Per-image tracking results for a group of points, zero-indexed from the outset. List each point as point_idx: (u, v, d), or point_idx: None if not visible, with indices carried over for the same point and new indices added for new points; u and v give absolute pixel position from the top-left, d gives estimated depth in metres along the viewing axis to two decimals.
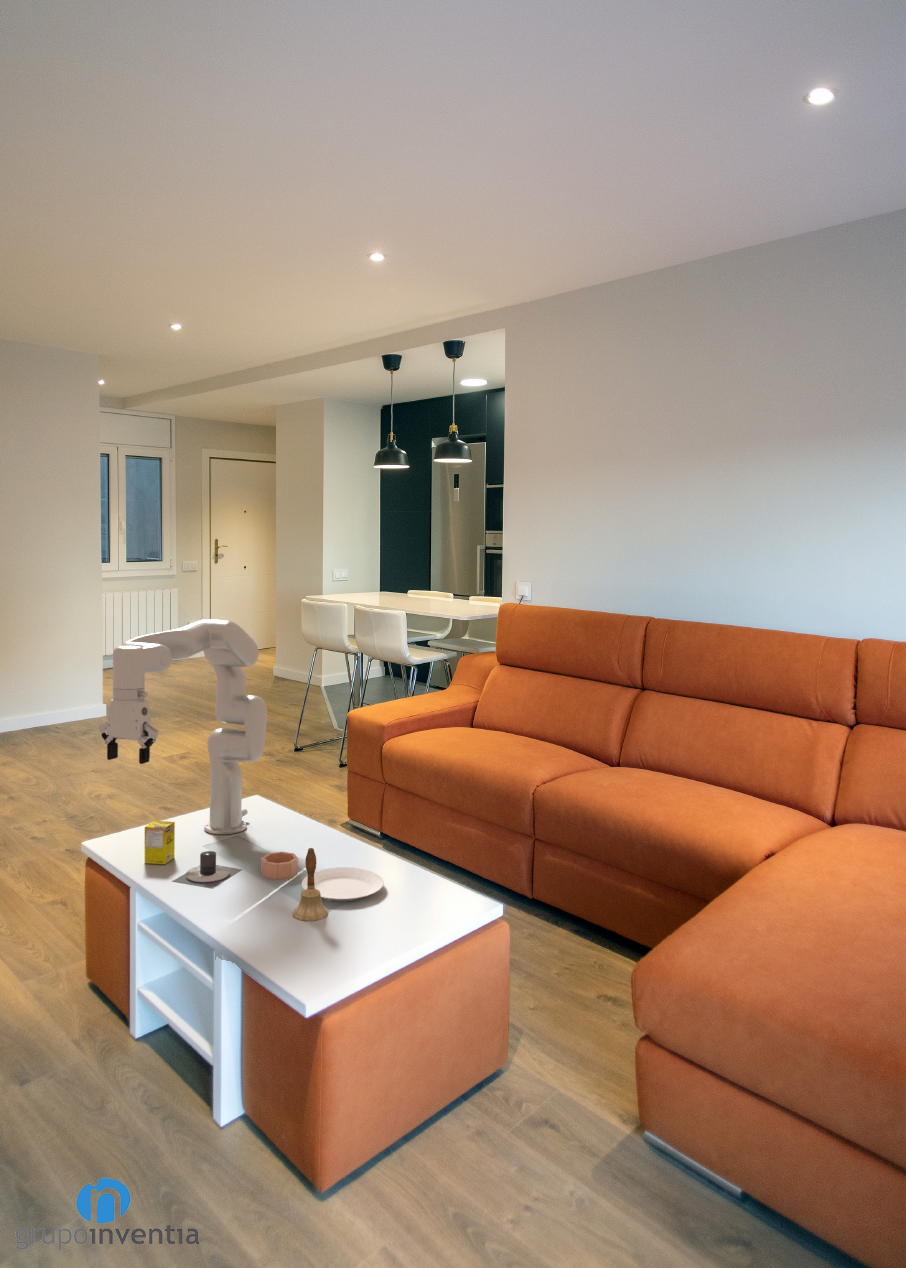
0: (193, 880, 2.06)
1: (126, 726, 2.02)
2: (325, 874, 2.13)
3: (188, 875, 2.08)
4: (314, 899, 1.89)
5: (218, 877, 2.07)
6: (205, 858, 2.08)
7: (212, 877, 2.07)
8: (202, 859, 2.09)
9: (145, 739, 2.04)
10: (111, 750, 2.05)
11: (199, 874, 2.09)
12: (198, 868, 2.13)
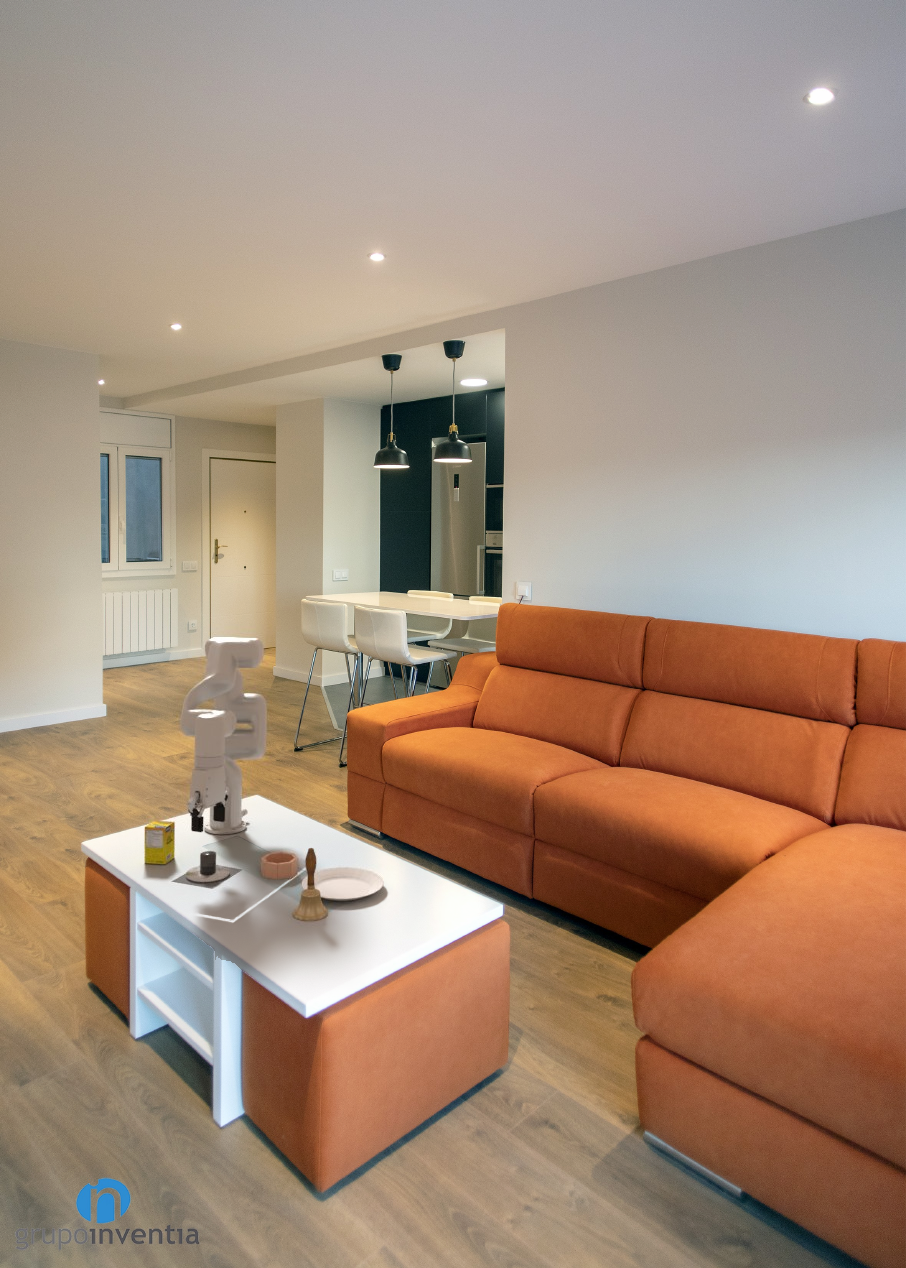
0: (193, 880, 2.06)
1: (219, 790, 2.09)
2: (325, 874, 2.13)
3: (188, 875, 2.08)
4: (314, 899, 1.89)
5: (218, 877, 2.07)
6: (204, 858, 2.08)
7: (212, 877, 2.07)
8: (202, 859, 2.09)
9: None
10: None
11: (199, 874, 2.09)
12: (198, 868, 2.13)
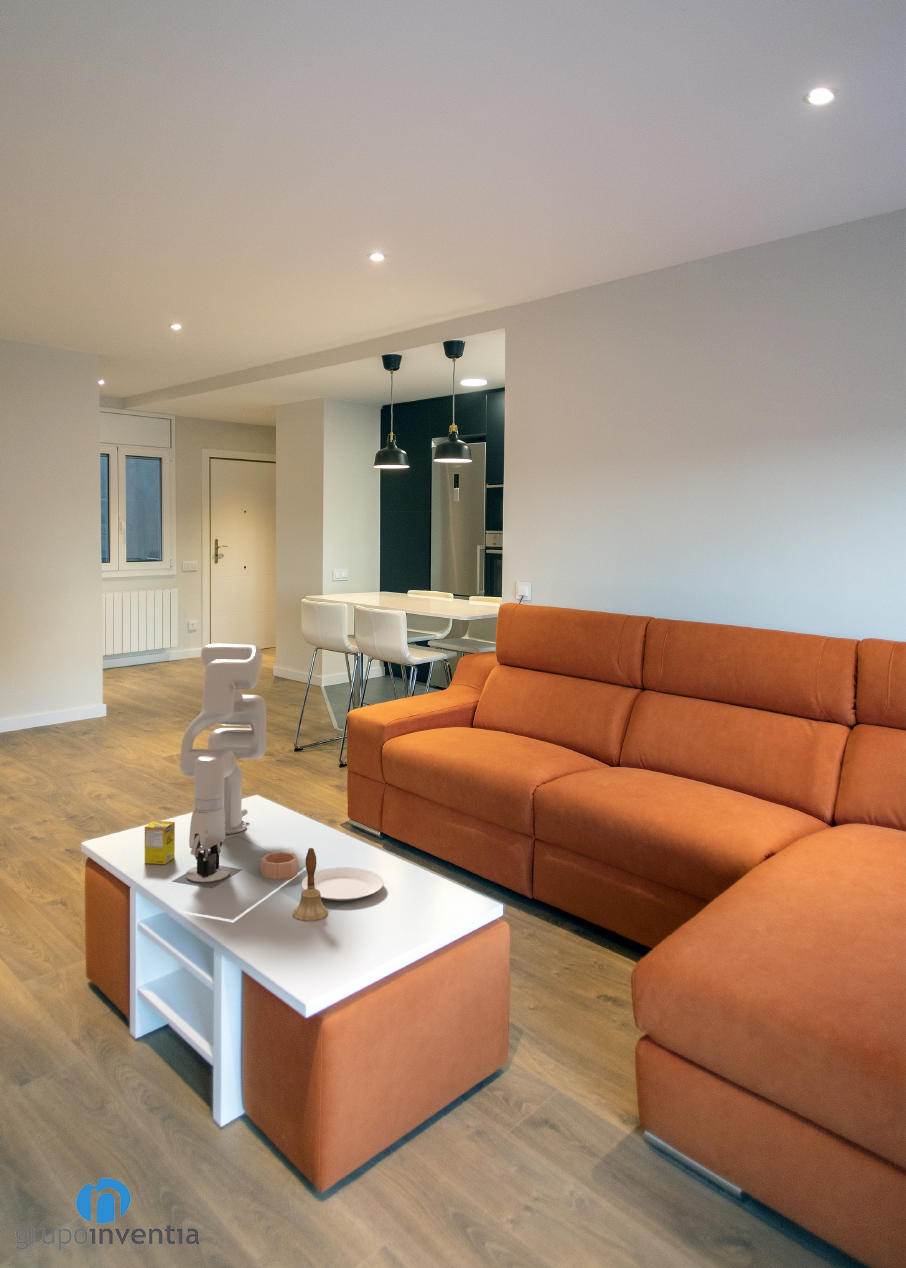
0: (193, 880, 2.06)
1: (219, 831, 2.10)
2: (325, 874, 2.13)
3: (188, 875, 2.08)
4: (314, 899, 1.89)
5: (218, 877, 2.07)
6: None
7: (212, 877, 2.07)
8: None
9: None
10: None
11: None
12: None
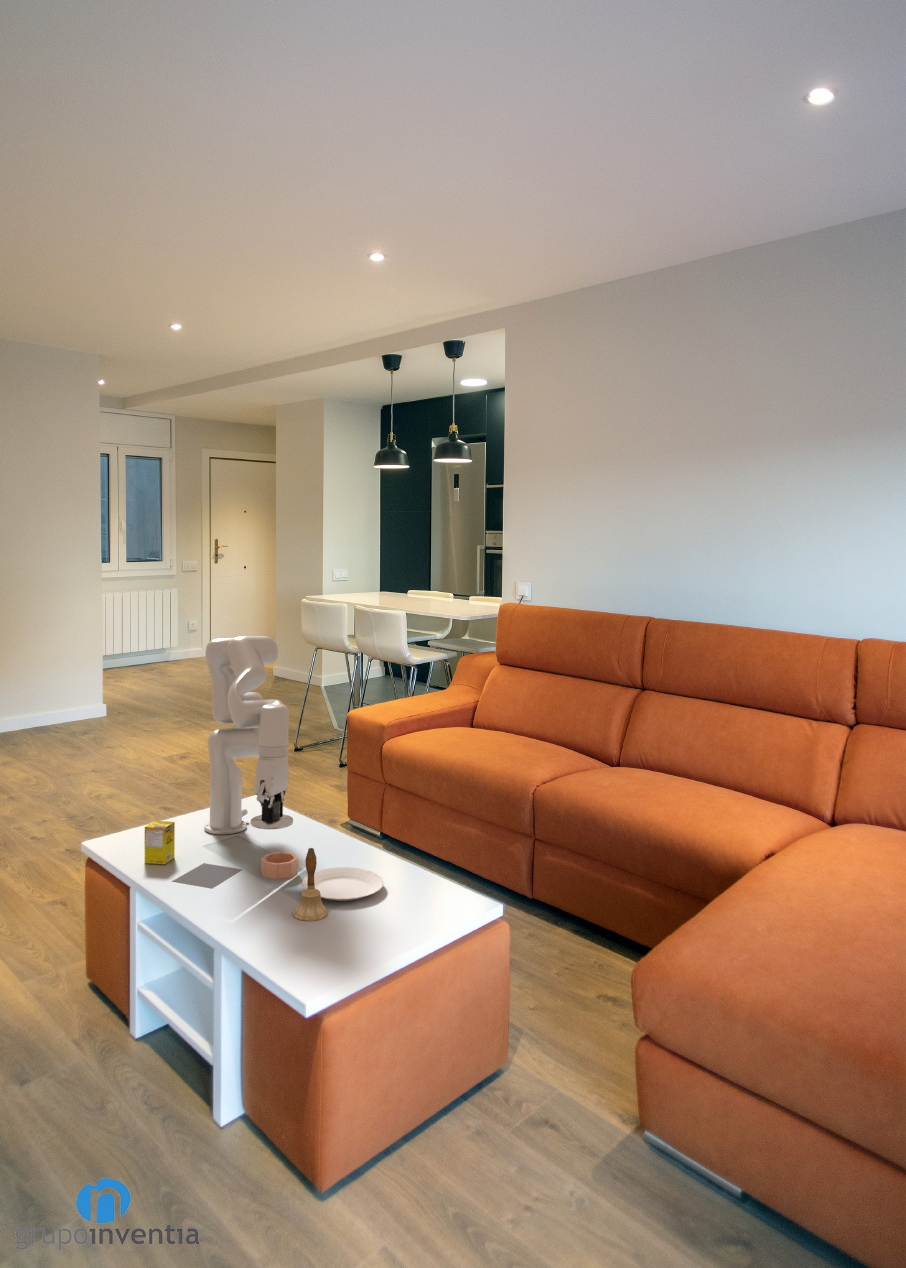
0: (258, 826, 2.08)
1: (283, 779, 2.13)
2: (325, 874, 2.13)
3: (253, 822, 2.10)
4: (314, 899, 1.89)
5: (283, 824, 2.10)
6: None
7: (277, 824, 2.10)
8: None
9: None
10: None
11: None
12: None
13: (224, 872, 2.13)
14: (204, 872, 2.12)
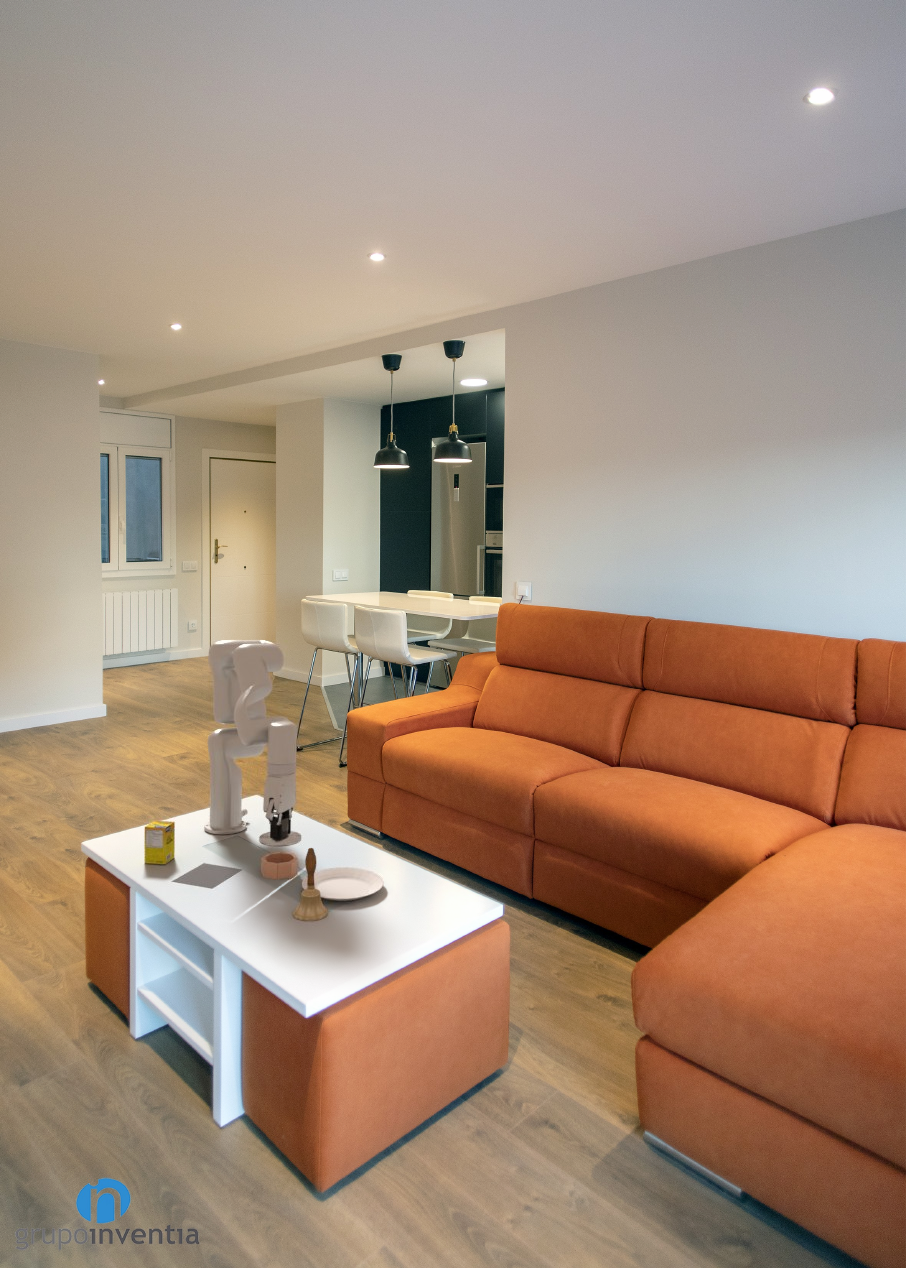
0: (267, 843, 2.09)
1: (291, 796, 2.14)
2: (325, 874, 2.13)
3: (262, 839, 2.11)
4: (314, 899, 1.89)
5: (291, 841, 2.10)
6: None
7: (286, 841, 2.10)
8: None
9: None
10: None
11: None
12: None
13: (224, 872, 2.13)
14: (204, 872, 2.12)
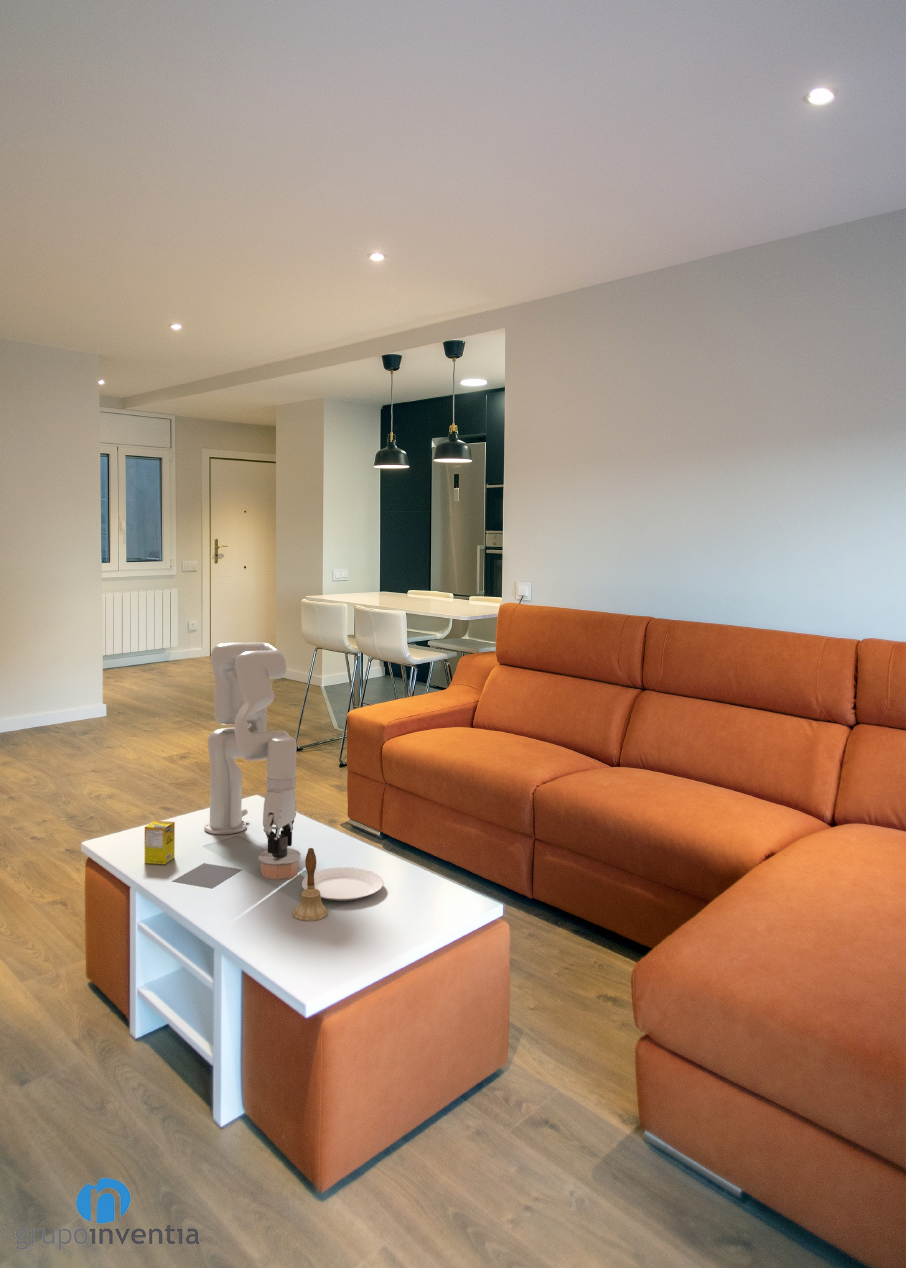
0: (267, 862, 2.09)
1: (291, 811, 2.14)
2: (325, 874, 2.13)
3: (261, 857, 2.12)
4: (314, 899, 1.89)
5: (291, 860, 2.11)
6: None
7: (285, 859, 2.11)
8: None
9: None
10: None
11: (271, 857, 2.13)
12: None
13: (224, 872, 2.13)
14: (204, 872, 2.12)
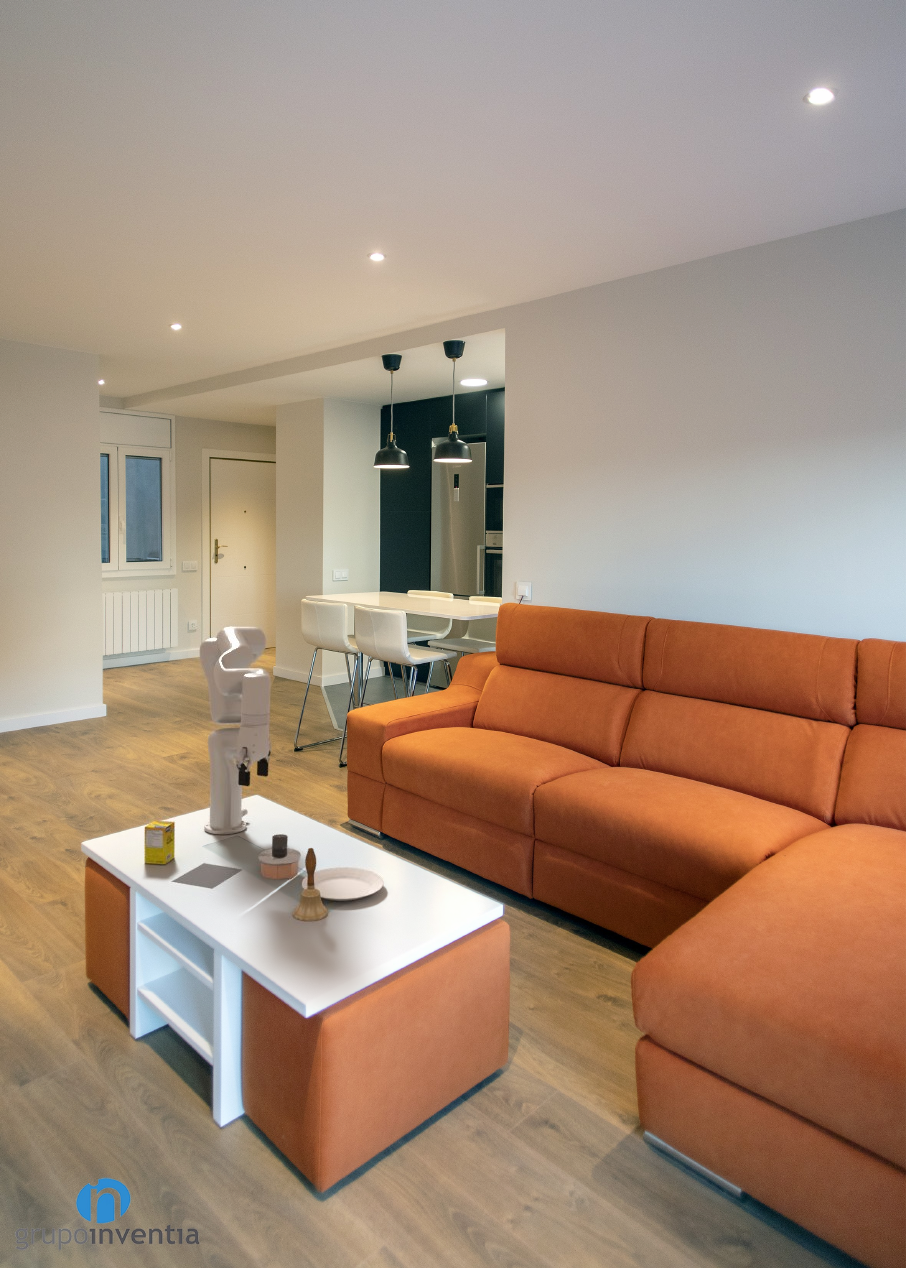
0: (267, 862, 2.09)
1: (264, 746, 2.18)
2: (325, 874, 2.13)
3: (261, 857, 2.12)
4: (314, 899, 1.89)
5: (291, 860, 2.11)
6: (277, 840, 2.12)
7: (285, 859, 2.11)
8: (274, 842, 2.12)
9: None
10: None
11: (271, 857, 2.13)
12: (269, 851, 2.17)
13: (224, 872, 2.13)
14: (204, 872, 2.12)
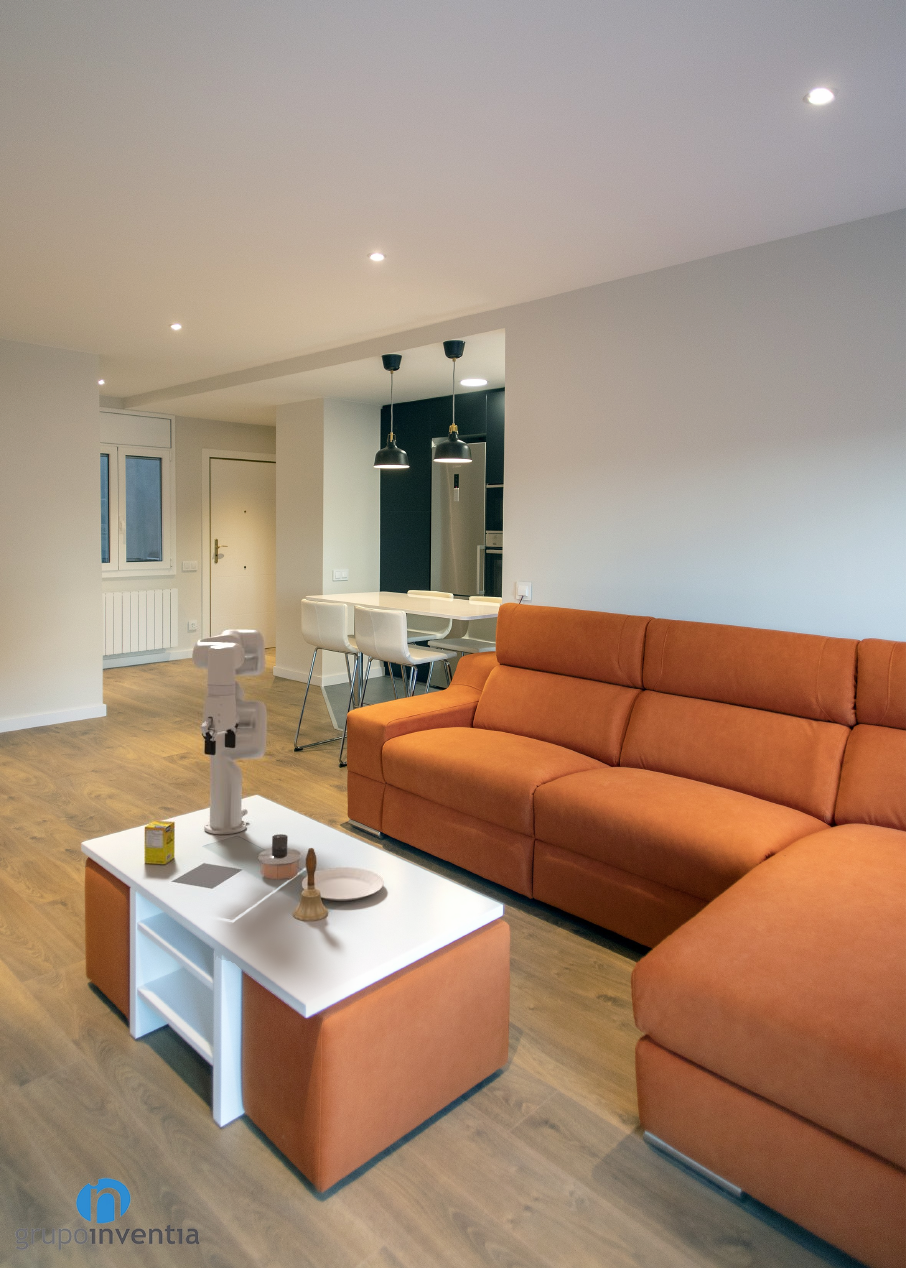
0: (267, 862, 2.09)
1: (230, 717, 2.23)
2: (325, 874, 2.13)
3: (261, 857, 2.12)
4: (314, 899, 1.89)
5: (291, 860, 2.11)
6: (277, 840, 2.12)
7: (285, 859, 2.11)
8: (274, 842, 2.12)
9: None
10: None
11: (271, 857, 2.13)
12: (269, 851, 2.17)
13: (224, 872, 2.13)
14: (204, 872, 2.12)
